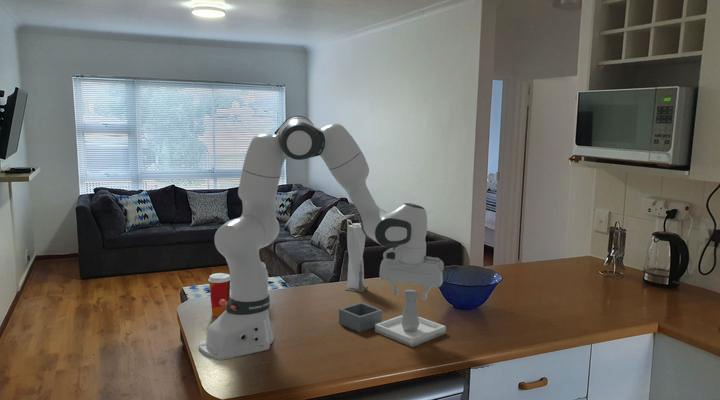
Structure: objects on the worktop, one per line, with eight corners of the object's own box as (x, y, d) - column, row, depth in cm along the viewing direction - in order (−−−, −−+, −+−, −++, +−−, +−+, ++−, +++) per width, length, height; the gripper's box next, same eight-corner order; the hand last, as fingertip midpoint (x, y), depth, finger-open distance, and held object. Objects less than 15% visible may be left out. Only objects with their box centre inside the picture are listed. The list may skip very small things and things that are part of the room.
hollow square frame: (359, 332, 177) (359, 317, 176) (338, 323, 184) (339, 309, 184) (382, 324, 184) (382, 310, 183) (361, 316, 191) (361, 302, 190)
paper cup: (220, 309, 196) (219, 271, 194) (236, 313, 192) (235, 274, 190) (204, 316, 189) (202, 276, 187) (220, 320, 186) (219, 280, 183)
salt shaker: (422, 329, 177) (423, 290, 175) (412, 334, 173) (413, 294, 171) (407, 325, 181) (408, 286, 179) (397, 329, 177) (398, 290, 175)
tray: (411, 347, 166) (412, 339, 166) (374, 331, 178) (375, 324, 177) (445, 333, 177) (445, 326, 176) (408, 319, 188) (408, 312, 188)
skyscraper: (342, 289, 220) (342, 221, 216) (349, 284, 228) (349, 217, 224) (362, 292, 217) (363, 222, 213) (368, 286, 225) (369, 219, 221)
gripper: (446, 256, 173) (444, 298, 175) (385, 248, 180) (383, 289, 182) (441, 260, 167) (439, 304, 169) (378, 252, 174) (376, 294, 177)
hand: (409, 296), depth 176 cm, fingers open, 8 cm apart
